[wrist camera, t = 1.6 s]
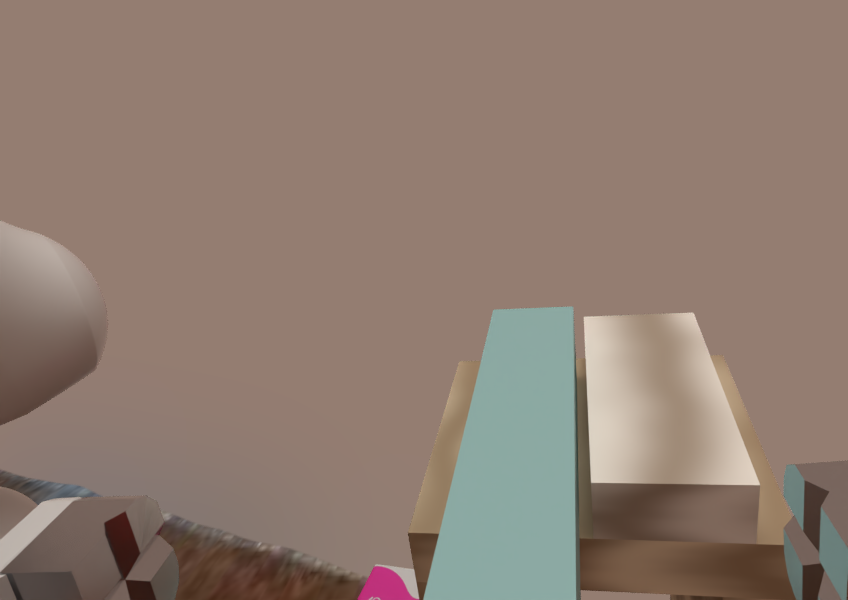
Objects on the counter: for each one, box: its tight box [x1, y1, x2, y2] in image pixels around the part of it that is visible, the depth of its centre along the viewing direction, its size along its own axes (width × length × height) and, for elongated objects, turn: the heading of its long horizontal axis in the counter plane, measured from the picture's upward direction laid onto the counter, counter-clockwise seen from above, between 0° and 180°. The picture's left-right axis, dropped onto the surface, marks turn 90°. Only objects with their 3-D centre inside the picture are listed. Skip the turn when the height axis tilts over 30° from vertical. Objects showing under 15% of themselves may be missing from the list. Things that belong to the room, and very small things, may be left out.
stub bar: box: [423, 307, 581, 600], centre depth 27 cm, size 4×20×4 cm, turn 169°
